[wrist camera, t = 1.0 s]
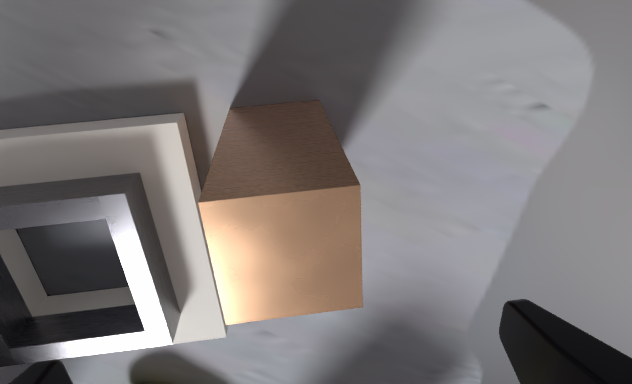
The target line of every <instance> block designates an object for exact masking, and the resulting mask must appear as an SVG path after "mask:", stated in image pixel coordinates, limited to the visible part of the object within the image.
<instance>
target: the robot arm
mask: <svg viewBox="0 0 632 384" xmlns="http://www.w3.org/2000/svg"><path fill="white" fill-rule="evenodd" d="M499 335H500V339H501V342H502V344H503V346H504V349H505V351H506V353H507V355H508V357H509V360H510V362H511V364H512V366H513V368H514V371H515V373H516V375H517V377H518V380H519V382H520V384H632V358H630V357H628V356H627V355H625V354H623V353H621V352H620V351H618V350H616V349H614V348H613V347H611V346H609V345H607V344H605V343H603V342H602V341H600V340H598V339H596V338H595V337H593V336H591V335H589V334H588V333H586V332H584V331H582V330H580V329H579V328H577V327H575V326H573V325H572V324H570V323H568V322H566V321H564V320H563V319H561V318H559V317H557V316H556V315H554V314H552V313H550V312H548V311H547V310H545V309H543V308H541V307H540V306H538V305H536V304H534V303H533V302H531V301H529V300H526V299H519V300H512V301H507V302H506V303H505V304H504V307H503V312H502V317H501V322H500V327H499ZM9 384H73V382H72V380H71V378H70V377H69V375H68V373H67V371H66V369H65V367H64V365H63V363H62V362H61V361H60V360H56V359H55V360H47V361H39V362H36V363H34V364H33V365H31V366H30V367H29V368H27V369H26V370H25V371H24V372H23V373H21V374H20V375H19V376H18V377H16V378H15V379H14V380H13V381H11V382H10V383H9Z"/></svg>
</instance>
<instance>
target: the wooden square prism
mask: <svg viewBox="0 0 632 384" xmlns="http://www.w3.org/2000/svg"><path fill="white" fill-rule="evenodd" d="M198 205H199V209H200V214H201V218H202V222H203V227H204V231H205V235H206V240H207V244H208V249H209V253H210V257H211V262H212V266H213V271H214V275H215V279H216V284H217V288H218V293H219V297H220V301H221V306H222V310H223V315H224V319H225V323H226V325H228V324H236V323H244V322H251V321H259V320H267V319H275V318H282V317H290V316H298V315H306V314H313V313H321V312H329V311H337V310H344V309H352V308H360V307H363V302H362V248H361V194H360V183H359V181H358V179H357V177H356V175H355V173H354V171H353V169H352V167H351V165H350V163H349V161H348V159H347V157H346V155H345V152H344V150H343V148H342V146H341V144H340V142H339V140H338V138H337V136H336V134H335V132H334V130H333V128H332V126H331V124H330V122H329V120H328V117H327V115H326V113H325V111H324V109H323V107H322V105H321V103H320V101H319V100H313V101H302V102H292V103H281V104H270V105H259V106H249V107H238V108H230V109H229V112H228V115H227V118H226V121H225V124H224V127H223V130H222V133H221V136H220V139H219V142H218V145H217V148H216V151H215V154H214V157H213V160H212V163H211V166H210V169H209V172H208V175H207V177H206V180H205V183H204V186H203V189H202V192H201V195H200V198H199V201H198Z"/></svg>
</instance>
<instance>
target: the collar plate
mask: <svg viewBox="0 0 632 384" xmlns="http://www.w3.org/2000/svg"><path fill="white" fill-rule="evenodd" d="M200 195H201V188H200V184H199V179H198V175H197V170H196V166H195V161H194V157H193V152H192V147H191V143H190V138H189V134H188V129H187V125H186V120H185V116H184V113H176V114H165V115H154V116H143V117H133V118H122V119H111V120H100V121H90V122H79V123H68V124H57V125H47V126H36V127H25V128H14V129H4V130H0V367H3V366H10V365H18V364H26V363H33V362H39V361H47V360H55V359H64V358H72V357H79V356H87V355H95V354H103V353H110V352H118V351H126V350H133V349H141V348H149V347H156V346H164V345H172V344H177V343H185V342H193V341H201V340H208V339H216V338H224V337H227V329H228V325H226V323H225V319H224V315H223V310H222V306H221V301H220V297H219V293H218V288H217V284H216V279H215V275H214V271H213V266H212V262H211V257H210V253H209V249H208V244H207V240H206V235H205V231H204V227H203V222H202V218H201V214H200V209H199V205H198V201H199V198H200ZM101 219H106V221H107V224H108V227H109V230H110V233H111V236H112V238H113V241H114V244H115V247H116V250H117V253H118V255H119V258H120V261H121V264H122V267H123V270H124V272H125V275H126V278H127V281H128V284H129V287H121V288H113V289H104V290H96V291H88V292H79V293H71V294H63V295H54V296H47V294H46V292H45V290H44V288H43V286H42V284H41V282H40V279H39V277H38V275H37V273H36V271H35V269H34V267H33V265H32V263H31V261H30V259H29V256H28V254H27V252H26V250H25V248H24V246H23V244H22V242H21V240H20V238H19V236H18V234H17V231H16V229H18V228H27V227H37V226H46V225H55V224H64V223H73V222H83V221H92V220H101Z"/></svg>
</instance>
